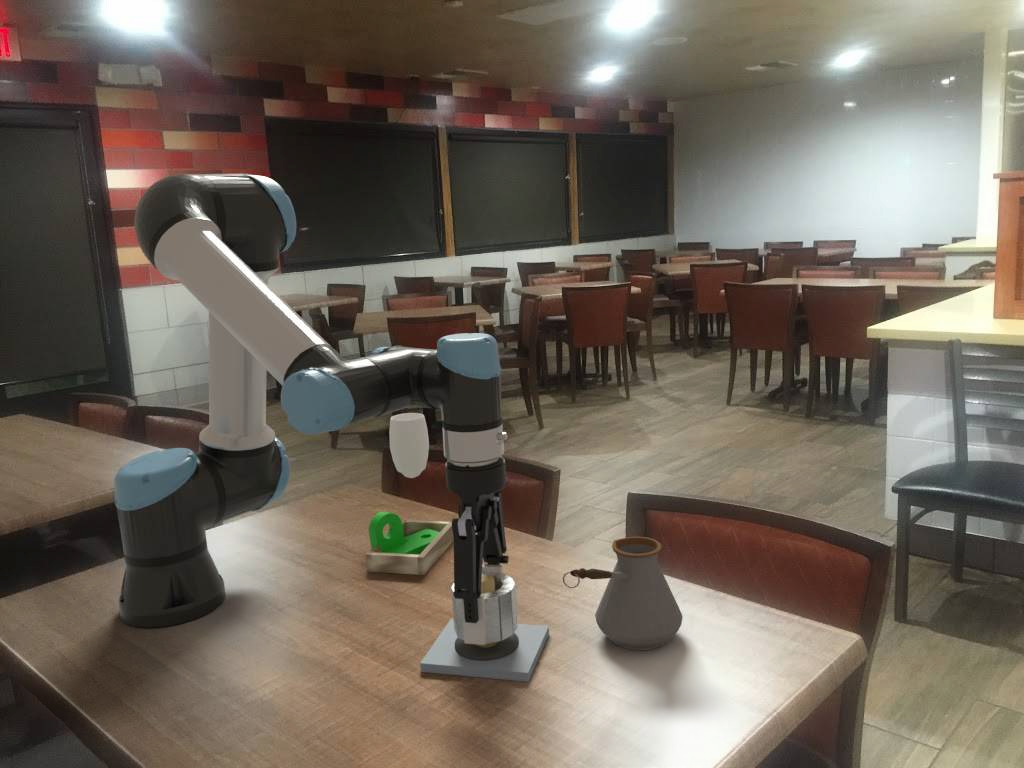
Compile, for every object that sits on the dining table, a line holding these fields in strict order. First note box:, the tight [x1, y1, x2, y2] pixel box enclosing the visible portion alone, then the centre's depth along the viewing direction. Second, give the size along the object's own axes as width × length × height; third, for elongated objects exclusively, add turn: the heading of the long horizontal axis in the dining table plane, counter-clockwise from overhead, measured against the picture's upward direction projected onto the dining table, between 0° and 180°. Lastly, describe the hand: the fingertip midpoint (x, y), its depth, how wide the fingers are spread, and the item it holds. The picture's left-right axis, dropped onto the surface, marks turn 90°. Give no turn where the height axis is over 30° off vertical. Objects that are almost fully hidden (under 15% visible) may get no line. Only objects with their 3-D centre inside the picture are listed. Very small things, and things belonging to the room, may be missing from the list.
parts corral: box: [365, 519, 454, 576], centre depth 144 cm, size 10×16×3 cm, turn 165°
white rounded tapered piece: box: [388, 412, 430, 479], centre depth 157 cm, size 7×7×21 cm
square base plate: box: [419, 575, 550, 683], centre depth 109 cm, size 14×12×10 cm
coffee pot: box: [562, 536, 684, 651], centre depth 107 cm, size 21×12×15 cm, turn 142°
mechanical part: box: [368, 510, 440, 555], centre depth 143 cm, size 12×6×8 cm, turn 134°
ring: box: [450, 572, 518, 644], centre depth 109 cm, size 8×8×6 cm
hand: (485, 626), depth 109 cm, fingers closed on ring, 8 cm apart
